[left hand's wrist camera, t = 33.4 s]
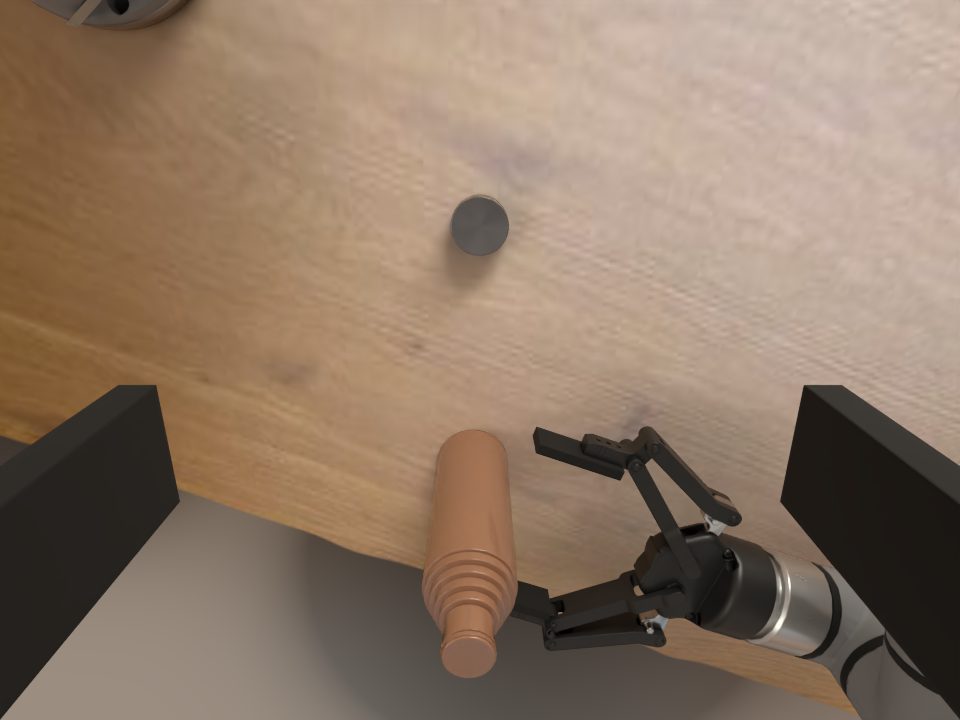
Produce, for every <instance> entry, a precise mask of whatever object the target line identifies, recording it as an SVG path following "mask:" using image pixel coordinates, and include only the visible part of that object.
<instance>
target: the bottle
mask: <svg viewBox="0 0 960 720" xmlns="http://www.w3.org/2000/svg"><path fill="white" fill-rule="evenodd" d="M517 592H518V581H517V569H516V558H515V546H514V534H513V522H512V510H511V498H510V487H509V475H508V463H507V455H506V451H505V449H504V447H503V445H502V444H501V443H500V442H499V440H497V439H496V438H495V437H494V436H492V435H490V434H488V433H486V432H483V431H478V430H467V431H462V432H459V433H457V434H455V435H453V436H452V437H450V438H449V439H448V440H447V441H446V442H445V443H444V444H443V446H442V447H441V450H440V452H439V456H438V464H437V472H436V480H435V487H434V495H433V503H432V510H431V518H430V526H429V534H428V541H427V549H426V557H425V564H424V572H423V580H422V593H423V597H424V602H425V605H426V608H427V610H428V612H429V613H430V614H431V616H432V618H433V619H434V621H435V623H436V625H437V626H438V628H439V629H440V631H441V633H442V634H443V639H442V644H441V648H440V657H441V659H442V663H443V665H444V667H445V668H446V669H447V670H448V671H449V672H450V673H452V674H453V675H456V676H458V677H462V678H475V677H479V676H481V675H483V674H485V673H487V672H488V671H489V670H490V669H491V668H492V666H493V665H494V663H495V662H496V658H497V650H496V648H495V647H496V643H495V635H496V633H497V631H498V630H499V629H500V627H501V626H502V624H503V622H504V621H505V620H506V618H507V617H508V615H509V614H510V613H511V611H512V609H513V607H514V604H515V599H516V596H517Z"/></svg>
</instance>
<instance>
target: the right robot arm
mask: <svg viewBox="0 0 960 720" xmlns="http://www.w3.org/2000/svg"><path fill="white" fill-rule="evenodd" d="M533 439H534V445H535V450H536V453H537V454H540V455H543V456H546V457H549V458H552V459H555V460H559V461H562V462H565V463H568V464H571V465H574V466H577V467H580V468H583V469H586V470H589V471H592V472H595V473H598V474H601V475H604V476H607V477H611V478H614V479H617V480H621V478H622V476H623V474H624V469H627V470H628V471H629V473H630V475H631V477H632V478H633V480H634V482H635V484H636V486H637V487H638V489H639V491H640V493H641V495H642V497H643V498H644V500H645V502H646V504H647V506H648V507H649V509H650V511H651V513H652V515H653V516H654V518H655V520H656V522H657V524H658V526H659V527H660V529H661V531H662V532H660V533H658V534H656V535H655V536H650V537H649V539H648V541H647V543H646V546H645V551H644V552H643V553H642V554H641V555H640V556H639V558H638V559H637V561H636V562H635V564H634V568H635V570H631V571H628V572H624V573H622V574H621V575H620V577H619V578H618V579H616V580H613V581H609V582H606V583H602V584H599V585H595V586H592V587H588V588H585V589H582V590H578V591H575V592H571V593H568V594H564V595H561V596H557V597H554V598H550V599H549V594H548V589H544V588H541V587H538V586H534V585H531V584H528V583H524V582H521V581H518V580H517V581H518V592H517V596H516V599H515V604H514V607H513V609H512V611H511V613H510V614H509V615H510V616H512V617H515V618H519V619H523V620H525V621H529V622H533V623H536V624H539V625H541V626H542V632H543V639H544V646H545V648H546V649H547V650H550V651H555V650H567V649H578V648H590V647H602V646H613V645H625V644H636V643H637V644H643V645H648V646H653V647H662V646H664V645H665V644H666V638H665V635H664V629H665V627H666V625H667V622H668V620H669V619H672V618H685V619H687V620H689V621H691V622H693V623H694V624H696V625H698V626H699V627H701V628H703V629H706V630H709V631H712V632H716V633H719V634H722V635H726V636H729V637H732V638H736V639H740V640H745V641H747V642H748V643H750V644H754V645H757V646H761V647H764V648H768V649H771V650H775V651H778V652H782V653H786V654H789V655H793V656H796V657H799V658H802V659H807V660H810V661H813V662H816V663H819V664H822V665H824V666H825V667H826V668H828V669H829V670H830V672H831V673H832V675H833V676H834V678H835V679H836V681H837V682H838V684H839V685H840V687H841V688H842V690H843V691H844V693H845V694H846V696H847V697H848V699H849V700H850V702H851V703H852V705H853V707H854V708H855V710H856V711H857V713H858V714H859V716H860V718H861V719H862V720H960V719H959V718H958V717H957V716H956V714H955V713H954V712H953V711H952V709H951V708H950V707H949V706H948V705H947V703H946V702H945V701H944V700H943V699H942V697H941V696H940V695H939V694H938V692H937V691H936V690H935V689H934V688H933V686H932V685H931V684H930V683H929V682H928V680H927V679H926V678H925V677H924V675H923V674H922V673H921V672H920V671H919V669H918V668H917V667H916V666H915V665H914V663H913V662H912V661H911V660H910V658H909V657H908V656H907V655H906V654H905V652H904V651H903V650H902V649H901V648H900V646H899V645H898V644H897V643H896V641H895V640H894V639H893V638H892V637H891V635H890V634H889V633H888V632H887V631H886V629H885V628H884V627H883V626H882V625H881V623H880V622H879V621H878V620H877V618H876V617H875V616H874V615H873V614H872V612H871V611H870V610H869V609H868V608H867V606H866V605H865V604H864V603H863V601H862V600H861V599H860V598H859V597H858V595H857V594H856V593H855V592H854V591H853V589H852V588H851V587H850V586H849V584H848V583H847V582H846V581H845V580H844V578H843V577H842V576H841V575H840V574H839V572H838V571H837V570H836V569H833V568H829V567H826V566H823V565H819V564H816V563H812V562H810V561H807V560H804V559H800V558H797V557H794V556H791V555H788V554H785V553H782V552H779V551H776V550H773V549H770V548H764V547H761V546H759V545H757V544H755V543H752V542H749V541H746V540H743V539H740V538H736V537H733V536H730V535H727V534H724V533H722V532H723V530H724V529H725V528H726V526H727V525H728V526H736V525H738V524H739V523H740V522H741V520H742V517H741V515H740V514H739V512H738V511H737V509H736V508H735V507H734V505H733V504H732V502H731V501H730V499H729V498H728V497H727V496H726V495H724V494H722V493H720V492H718V491H716V490H713V489H711V488H709V487H707V486H706V484H705V483H704V482H703V481H702V480H701V479H700V478H699V477H698V476H697V475H696V474H695V473H694V472H693V471H692V470H691V469H690V467H689V466H688V465H687V464H686V463H685V462H684V461H683V460H682V459H681V458H680V457H679V456H678V455H677V454H676V453H675V452H674V450H673V449H672V448H671V447H670V446H669V445H668V444H667V443H666V442H665V441H664V440H663V439H662V438H661V437H660V436H659V434H658V433H657V432H656V431H655V430H654V429H653V428H651V427H648V426H647V427H643V428H641V430H640V431H639V436H638V437H637V438H636V439H635V440H634V441H633V442H632V441H631V440H629V439H624V440H622V441H621V442H620V443H618V442H615V441H612V440H609V439H606V438H603V437H599V436H597V435H594V434H585V435H584V437H583V439H582V442H581V441H578V440H575V439H572V438H569V437H566V436H563V435H560V434H557V433H554V432H551V431H548V430H545V429H542V428H539V427H536V429H535V431H534V434H533ZM651 458H652V459H653V460H654V461H655V462H656V463H657V464H658V465H659V466H660V467H661V468H662V469H663V470H664V471H665V472H666V473H667V474H668V475H669V476H670V477H671V478H672V479H673V480H674V481H675V483H676V484H677V485H678V486H679V487H680V488H681V489H682V490H683V491H684V492H685V493H686V494H687V495H688V496H689V497H690V498H691V499H692V500H693V501H694V502H695V503H696V504H697V505H698V507H699V508H700V512H701V514H702V516H703V517H704V519H705V523H697V524H693V525H688V526H684V527H680V528H679V527H678V525H677V523H676V521H675V519H674V518H673V516H672V514H671V512H670V510H669V508H668V507H667V505H666V503H665V501H664V499H663V497H662V496H661V494H660V492H659V490H658V488H657V486H656V484H655V483H654V481H653V479H652V477H651V475H650V473H649V471H648V470H647V468H646V466H645V464H646V463H647V462H648V461H649V460H650V459H651ZM623 468H624V469H623ZM637 585H639V587H640V589H641V591H642V592H643V593H644V595H641V596H636V595H635V592H634V587H635V586H637ZM558 612H563V613H562V614H559V615H558Z"/></svg>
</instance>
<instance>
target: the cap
mask: <svg viewBox="0 0 960 720" xmlns="http://www.w3.org/2000/svg"><path fill="white" fill-rule="evenodd" d="M508 230H509V222H508V218H507V215H506V212H505V210H504V208H503V207H502V205H501V204H500V203H499V202H498V201H497V200H495V199H494V198H492V197H489V196H486V195H474V196H470V197H468V198H466V199H464V200H463V201H462V202H461V203H460V204H459V205H458V206H457V207H456V209H455V211H454V214H453V216H452V220H451V232H452V236H453V238H454V240H455V242H456V244H457V245H458V246H459V247H460V248H461V249H462V250H464V251H465V252H467V253H469V254H472V255H479V256H482V255H487V254H490V253H493V252H494V251H496V250H497V249H499V248H500V247H501V246H502V244H503V243H504V241H505V240H506V237H507V235H508Z"/></svg>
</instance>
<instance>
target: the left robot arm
mask: <svg viewBox="0 0 960 720" xmlns="http://www.w3.org/2000/svg"><path fill="white" fill-rule="evenodd" d="M31 1H32V2H34V3H35V4H37V5H38V6H40V7H42V8H44V9H45V10H47V11H49V12H51V13H53V14H56V15H58V16H60V17H62V18H65V19H68V20H69V21H68V22H67V23H66V24H65V25H68V26H72V27H75V28H78V27H79V26H80V24H85V25H88V26H92V27H97V28H101V29H109V30H131V29H138V28H143V27H147V26H150V25H153V24H156V23H158V22H160V21H162V20H164V19H166V18H168V17H169V16H171V15H172V14H174V13H175V12H176V11H178V10H179V9H180V8H181V7H182V6H184V5H185V4H186V2H187V1H188V0H31ZM179 502H180V500H179V495H178V490H177V485H176V480H175V475H174V470H173V466H172V461H171V456H170V451H169V446H168V441H167V436H166V431H165V426H164V421H163V417H162V412H161V407H160V402H159V397H158V392H157V387H156V385H118V386H116V387H115V388H113V389H112V390H111V391H109V392H108V393H106V394H105V395H103V396H102V397H100V398H99V399H97V400H96V401H94V402H93V403H92V404H90V405H89V406H87V407H86V408H84V409H83V410H81V411H80V412H78V413H77V414H75V415H74V416H73V417H71V418H70V419H68V420H67V421H65V422H64V423H62V424H61V425H59V426H58V427H57V428H55V429H54V430H52V431H51V432H49V433H48V434H46V435H45V436H43V437H42V438H40V439H39V440H38V441H36V442H35V443H33V444H32V445H30V446H29V447H27V448H26V449H24V450H23V451H22V452H20V453H19V454H17V455H16V456H14V457H13V458H11V459H10V460H8V461H7V462H5V463H4V464H3V465H1V466H0V719H1V718H2V717H3V716H4V714H5V713H6V712H7V711H8V709H9V708H10V707H11V706H12V705H13V703H14V702H15V701H16V700H17V699H18V697H19V696H20V695H21V694H22V692H23V691H24V690H25V689H26V688H27V686H28V685H29V684H30V683H31V682H32V680H33V679H34V678H35V677H36V675H37V674H38V673H39V672H40V671H41V669H42V668H43V667H44V666H45V665H46V663H47V662H48V661H49V660H50V658H51V657H52V656H53V655H54V654H55V652H56V651H57V650H58V649H59V648H60V646H61V645H62V644H63V643H64V641H65V640H66V639H67V638H68V637H69V635H70V634H71V633H72V632H73V631H74V629H75V628H76V627H77V626H78V625H79V623H80V622H81V621H82V620H83V618H84V617H85V616H86V615H87V614H88V612H89V611H90V610H91V609H92V608H93V606H94V605H95V604H96V603H97V601H98V600H99V599H100V598H101V597H102V595H103V594H104V593H105V592H106V590H107V589H108V588H109V587H110V586H111V584H112V583H113V582H114V581H115V580H116V578H117V577H118V576H119V575H120V574H121V572H122V571H123V570H124V569H125V567H126V566H127V565H128V564H129V563H130V561H131V560H132V559H133V558H134V557H135V555H136V554H137V553H138V552H139V550H140V549H141V548H142V547H143V546H144V544H145V543H146V542H147V541H148V540H149V538H150V537H151V536H152V535H153V533H154V532H155V531H156V530H157V529H158V527H159V526H160V525H161V524H162V523H163V521H164V520H165V519H166V518H167V516H168V515H169V514H170V513H171V512H172V510H173V509H174V508H175V507H176V506H177V504H178V503H179ZM780 502H781V503H782V504H783V506H784V507H785V508H786V509H787V510H788V512H789V513H790V514H791V515H792V517H793V518H794V519H795V520H796V521H797V523H798V524H799V525H800V526H801V527H802V529H803V530H804V531H805V532H806V533H807V535H808V536H809V537H810V538H811V540H812V541H813V542H814V543H815V544H816V546H817V547H818V548H819V549H820V550H821V552H822V553H823V554H824V555H825V557H826V558H827V559H828V560H829V561H830V563H831V564H832V565H833V566H834V567H835V569H836V570H837V571H838V572H839V574H840V575H841V576H842V577H843V578H844V580H845V581H846V582H847V583H848V584H849V586H850V587H851V588H852V589H853V591H854V592H855V593H856V594H857V595H858V597H859V598H860V599H861V600H862V601H863V603H864V604H865V605H866V606H867V608H868V609H869V610H870V611H871V612H872V614H873V615H874V616H875V617H876V618H877V620H878V621H879V622H880V623H881V625H882V626H883V627H884V628H885V629H886V631H887V632H888V633H889V634H890V635H891V637H892V638H893V639H894V640H895V641H896V643H897V644H898V645H899V646H900V648H901V649H902V650H903V651H904V652H905V654H906V655H907V656H908V657H909V658H910V660H911V661H912V662H913V663H914V665H915V666H916V667H917V668H918V669H919V671H920V672H921V673H922V674H923V675H924V677H925V678H926V679H927V680H928V682H929V683H930V684H931V685H932V686H933V688H934V689H935V690H936V691H937V692H938V694H939V695H940V696H941V697H942V699H943V700H944V701H945V702H946V703H947V705H948V706H949V707H950V708H951V709H952V711H953V712H954V713H955V714H956V716H957V717H958V718H959V719H960V466H959V465H957V464H956V463H955V462H953V461H952V460H950V459H949V458H947V457H946V456H944V455H943V454H941V453H940V452H939V451H937V450H936V449H934V448H933V447H931V446H930V445H928V444H927V443H925V442H924V441H922V440H921V439H920V438H918V437H917V436H915V435H914V434H912V433H911V432H909V431H908V430H906V429H905V428H903V427H902V426H901V425H899V424H898V423H896V422H895V421H893V420H892V419H890V418H889V417H887V416H886V415H885V414H883V413H882V412H880V411H879V410H877V409H876V408H874V407H873V406H871V405H870V404H868V403H867V402H866V401H864V400H863V399H861V398H860V397H858V396H857V395H855V394H854V393H852V392H851V391H849V390H848V389H847V388H845V387H844V386H842V385H804V387H803V392H802V397H801V402H800V407H799V412H798V417H797V421H796V426H795V431H794V436H793V441H792V446H791V451H790V456H789V461H788V466H787V470H786V475H785V480H784V485H783V490H782V495H781V500H780Z"/></svg>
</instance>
